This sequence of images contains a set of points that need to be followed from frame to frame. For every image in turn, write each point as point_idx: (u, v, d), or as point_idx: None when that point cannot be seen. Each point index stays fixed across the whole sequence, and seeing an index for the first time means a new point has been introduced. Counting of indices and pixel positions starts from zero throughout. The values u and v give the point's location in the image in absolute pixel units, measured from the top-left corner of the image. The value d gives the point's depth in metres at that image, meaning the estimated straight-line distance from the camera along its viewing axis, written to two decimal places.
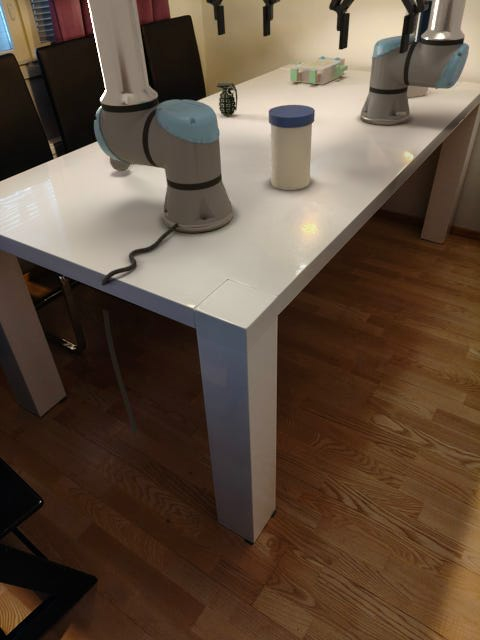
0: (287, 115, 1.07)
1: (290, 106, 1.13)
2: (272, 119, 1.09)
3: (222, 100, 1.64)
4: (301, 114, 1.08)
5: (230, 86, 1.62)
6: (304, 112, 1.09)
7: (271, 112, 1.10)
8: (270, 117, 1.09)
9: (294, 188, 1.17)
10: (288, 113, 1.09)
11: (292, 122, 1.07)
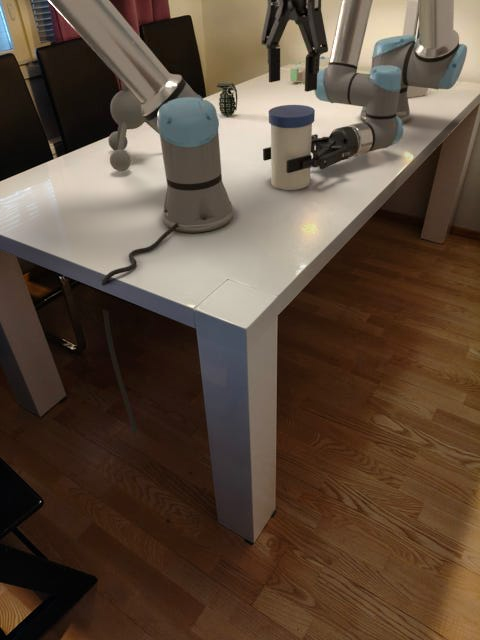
0: (287, 115, 1.07)
1: (290, 106, 1.13)
2: (272, 119, 1.09)
3: (222, 100, 1.64)
4: (301, 114, 1.08)
5: (230, 86, 1.62)
6: (304, 112, 1.09)
7: (271, 112, 1.10)
8: (270, 117, 1.09)
9: (294, 188, 1.17)
10: (288, 113, 1.09)
11: (292, 122, 1.07)
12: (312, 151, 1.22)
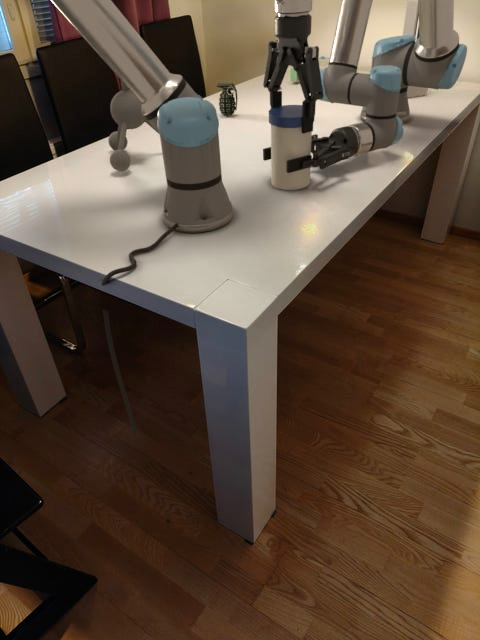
0: (287, 115, 1.07)
1: (290, 106, 1.13)
2: (272, 119, 1.09)
3: (222, 100, 1.64)
4: (301, 114, 1.08)
5: (230, 86, 1.62)
6: None
7: (271, 112, 1.10)
8: (270, 117, 1.09)
9: (294, 188, 1.17)
10: (288, 113, 1.09)
11: (292, 122, 1.07)
12: (312, 151, 1.22)
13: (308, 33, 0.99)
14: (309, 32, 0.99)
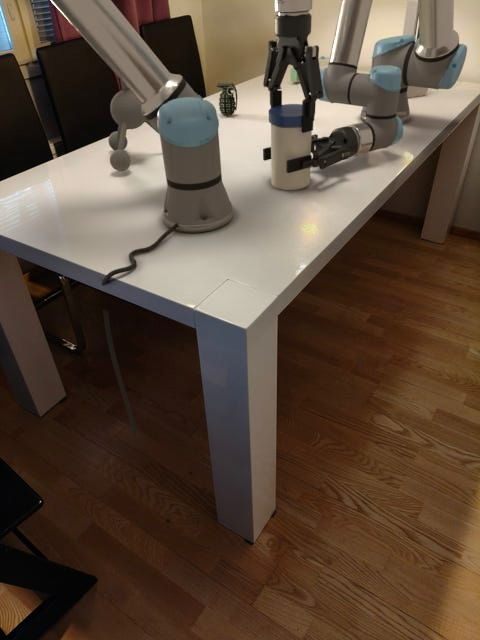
0: None
1: (276, 108, 1.12)
2: (294, 120, 1.07)
3: (222, 100, 1.64)
4: None
5: (230, 86, 1.62)
6: None
7: (285, 115, 1.07)
8: (290, 120, 1.06)
9: (294, 188, 1.17)
10: (296, 111, 1.09)
11: None
12: (312, 151, 1.22)
13: (308, 32, 0.99)
14: (309, 31, 0.99)
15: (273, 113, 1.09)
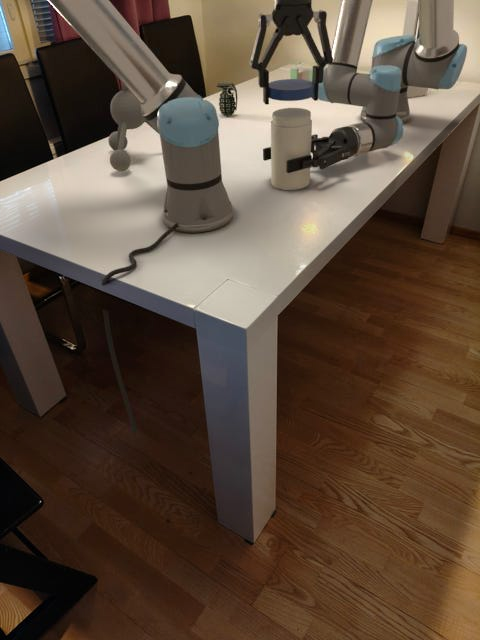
0: (306, 82, 1.08)
1: (277, 87, 1.05)
2: (313, 90, 1.06)
3: (222, 100, 1.64)
4: (295, 80, 1.09)
5: (230, 86, 1.62)
6: (287, 81, 1.09)
7: (306, 87, 1.04)
8: (311, 90, 1.05)
9: (294, 188, 1.17)
10: (298, 83, 1.07)
11: None
12: (312, 151, 1.22)
13: None
14: None
15: (292, 89, 1.03)
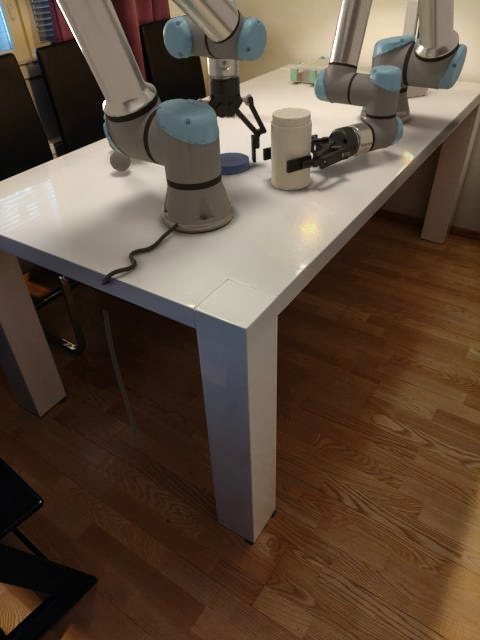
0: (242, 157, 1.30)
1: None
2: (247, 164, 1.28)
3: None
4: (235, 154, 1.32)
5: None
6: (228, 155, 1.32)
7: (241, 163, 1.27)
8: (245, 165, 1.27)
9: (294, 188, 1.17)
10: (236, 158, 1.30)
11: None
12: (312, 151, 1.22)
13: None
14: None
15: (228, 165, 1.26)
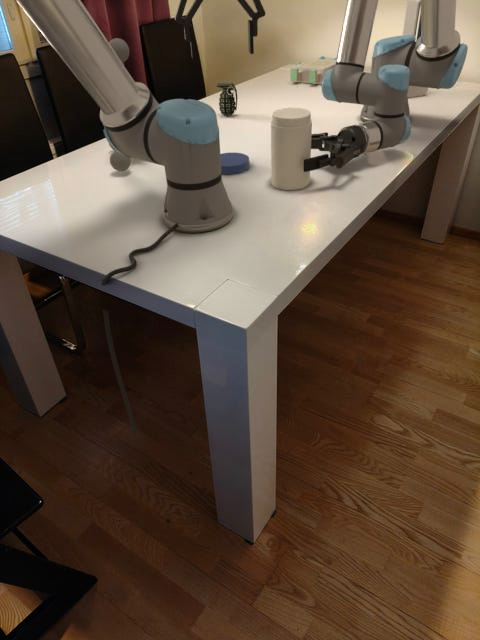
0: (242, 157, 1.30)
1: None
2: (247, 164, 1.28)
3: (222, 100, 1.64)
4: (235, 154, 1.32)
5: (230, 86, 1.62)
6: (228, 155, 1.32)
7: (241, 163, 1.27)
8: (245, 165, 1.27)
9: (294, 188, 1.17)
10: (236, 158, 1.30)
11: None
12: (320, 148, 1.24)
13: None
14: None
15: (228, 165, 1.26)
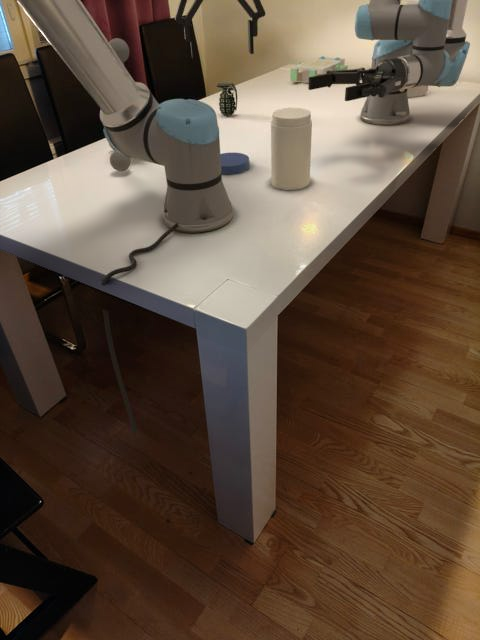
0: (242, 157, 1.30)
1: None
2: (247, 164, 1.28)
3: (222, 100, 1.64)
4: (235, 154, 1.32)
5: (230, 86, 1.62)
6: (228, 155, 1.32)
7: (241, 163, 1.27)
8: (245, 165, 1.27)
9: (294, 188, 1.17)
10: (236, 158, 1.30)
11: None
12: (357, 83, 1.19)
13: None
14: None
15: (228, 165, 1.26)
